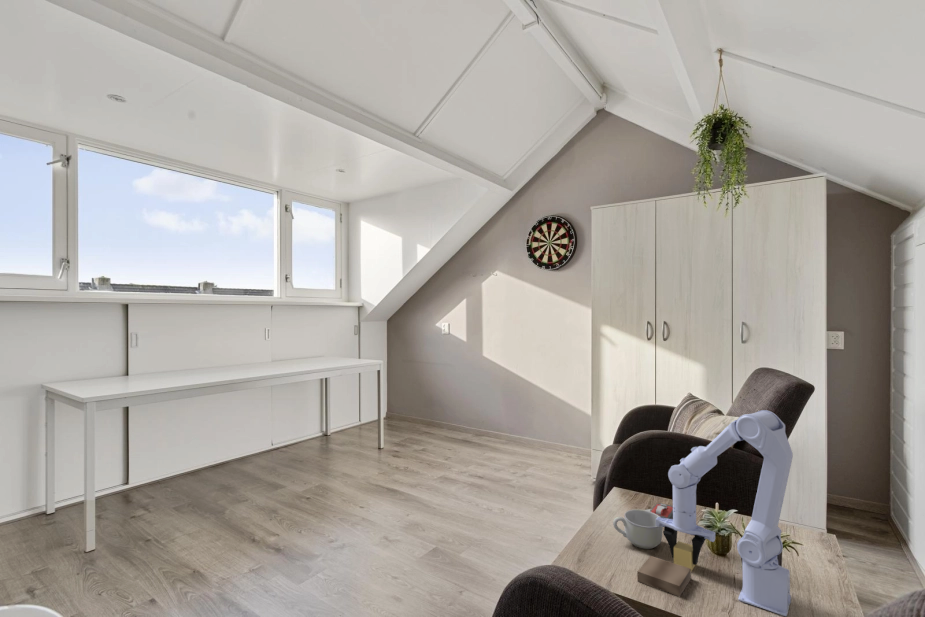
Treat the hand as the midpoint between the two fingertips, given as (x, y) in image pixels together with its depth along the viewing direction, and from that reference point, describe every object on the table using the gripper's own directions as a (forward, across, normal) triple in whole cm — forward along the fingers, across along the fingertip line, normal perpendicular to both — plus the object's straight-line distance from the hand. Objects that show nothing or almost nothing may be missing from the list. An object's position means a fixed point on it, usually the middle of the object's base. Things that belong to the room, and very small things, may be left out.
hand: (684, 559), depth 126 cm
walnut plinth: (+1, +2, +11) cm, 11 cm away
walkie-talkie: (+2, +15, -23) cm, 28 cm away
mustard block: (+2, 0, 0) cm, 2 cm away
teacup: (+2, +14, -4) cm, 15 cm away
